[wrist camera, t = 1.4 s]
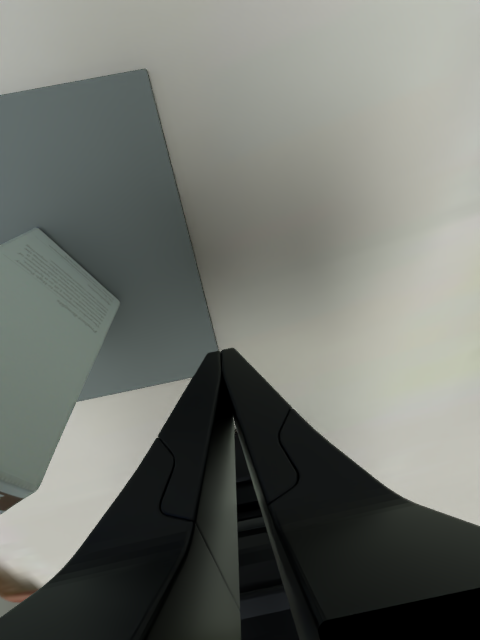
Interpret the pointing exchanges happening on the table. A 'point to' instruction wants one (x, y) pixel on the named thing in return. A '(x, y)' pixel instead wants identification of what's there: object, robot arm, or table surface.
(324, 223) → the table surface
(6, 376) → the skincare box
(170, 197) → the mat
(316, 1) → the table surface
